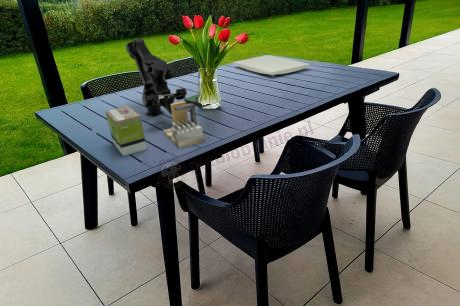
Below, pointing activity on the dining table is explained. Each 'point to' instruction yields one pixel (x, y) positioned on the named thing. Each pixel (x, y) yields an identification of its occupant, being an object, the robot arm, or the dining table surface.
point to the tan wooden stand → (185, 129)
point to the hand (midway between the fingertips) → (172, 114)
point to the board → (271, 65)
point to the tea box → (126, 130)
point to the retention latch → (178, 115)
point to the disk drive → (194, 101)
